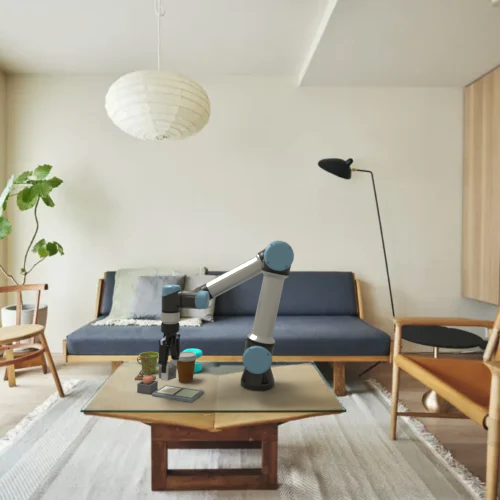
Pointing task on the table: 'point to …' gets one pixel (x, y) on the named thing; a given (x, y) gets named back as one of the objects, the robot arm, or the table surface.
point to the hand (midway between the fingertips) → (168, 377)
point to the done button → (147, 380)
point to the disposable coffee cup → (186, 366)
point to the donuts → (198, 353)
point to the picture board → (178, 393)
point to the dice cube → (169, 371)
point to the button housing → (147, 387)
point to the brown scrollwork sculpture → (144, 368)
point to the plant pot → (152, 357)
